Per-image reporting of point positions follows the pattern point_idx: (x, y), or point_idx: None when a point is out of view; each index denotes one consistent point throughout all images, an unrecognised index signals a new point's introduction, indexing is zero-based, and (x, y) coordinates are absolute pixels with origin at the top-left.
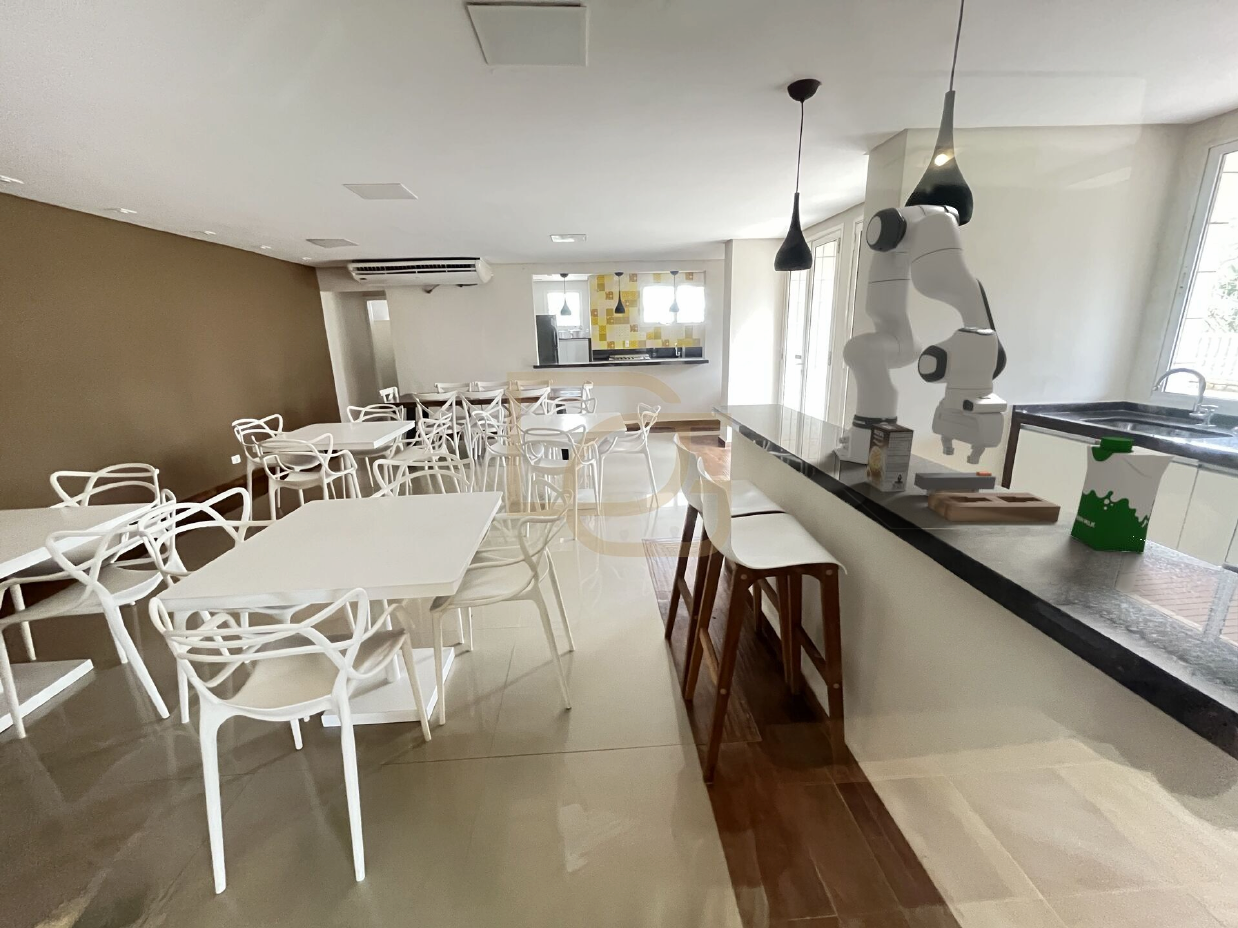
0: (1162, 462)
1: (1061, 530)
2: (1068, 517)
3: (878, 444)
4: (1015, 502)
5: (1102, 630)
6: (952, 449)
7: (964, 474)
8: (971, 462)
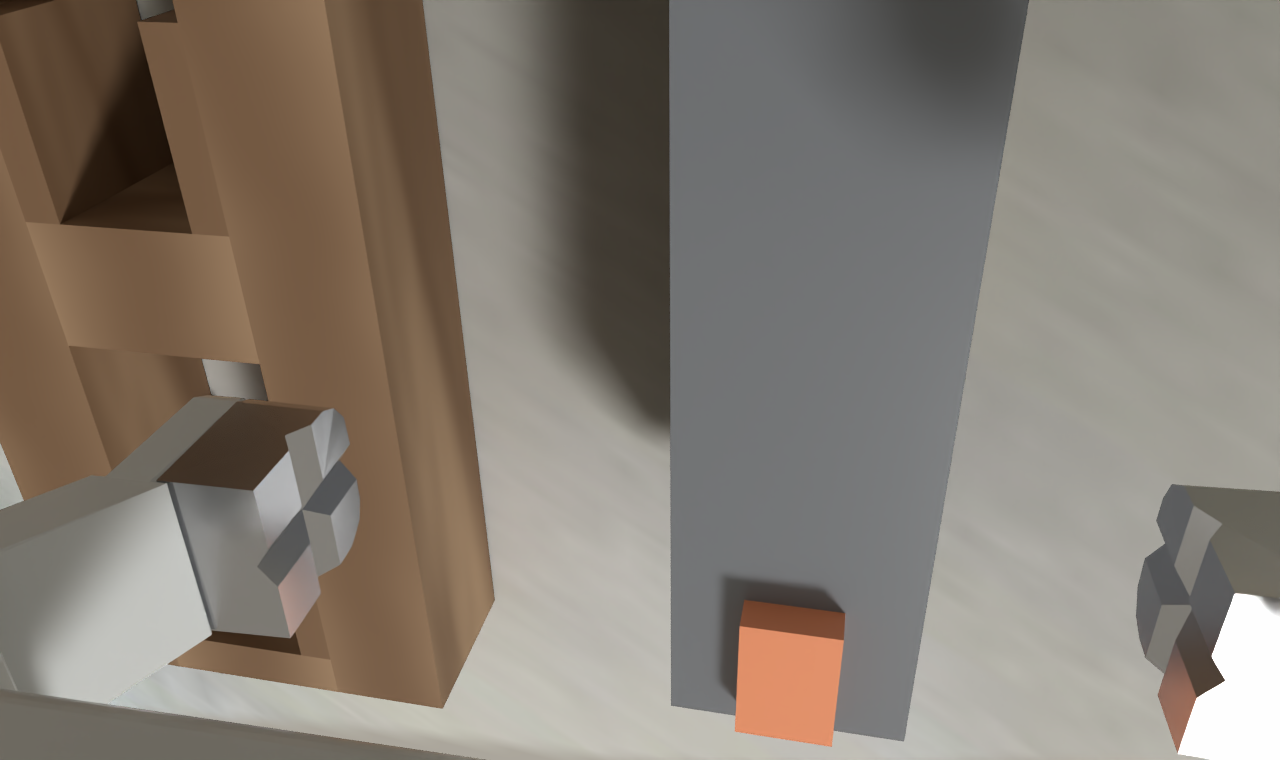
0: None
1: (8, 465)
2: (303, 686)
3: None
4: (91, 411)
5: None
6: (1176, 688)
7: (832, 458)
8: (188, 413)
